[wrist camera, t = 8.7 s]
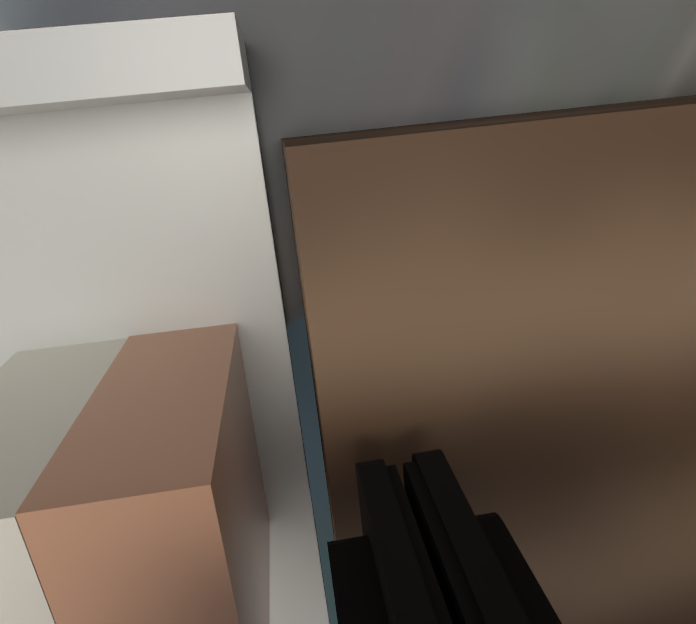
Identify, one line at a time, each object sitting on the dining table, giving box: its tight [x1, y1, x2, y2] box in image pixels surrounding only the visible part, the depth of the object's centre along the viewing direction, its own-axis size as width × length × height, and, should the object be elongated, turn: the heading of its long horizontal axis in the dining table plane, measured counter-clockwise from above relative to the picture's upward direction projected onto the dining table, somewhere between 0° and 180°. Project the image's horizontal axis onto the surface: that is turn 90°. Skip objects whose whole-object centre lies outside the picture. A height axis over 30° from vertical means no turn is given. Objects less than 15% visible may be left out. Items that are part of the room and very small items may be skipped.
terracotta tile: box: [15, 323, 270, 624], centre depth 11 cm, size 6×6×2 cm
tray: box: [0, 12, 330, 624], centre depth 12 cm, size 18×12×4 cm, turn 6°
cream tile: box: [0, 338, 128, 624], centre depth 11 cm, size 6×6×2 cm
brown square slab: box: [282, 95, 696, 624], centre depth 14 cm, size 14×14×4 cm
